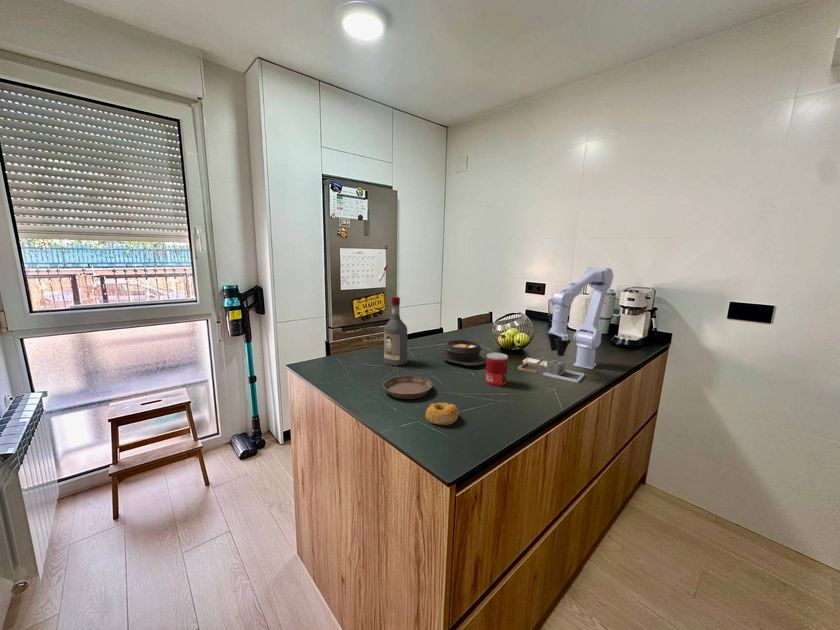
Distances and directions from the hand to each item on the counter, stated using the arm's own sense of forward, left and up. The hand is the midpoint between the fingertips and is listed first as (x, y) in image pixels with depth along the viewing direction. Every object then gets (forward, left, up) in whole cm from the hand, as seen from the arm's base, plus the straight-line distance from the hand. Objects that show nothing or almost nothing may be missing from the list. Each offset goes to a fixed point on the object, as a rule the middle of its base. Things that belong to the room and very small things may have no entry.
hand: (557, 353), depth 138 cm
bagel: (+63, -15, -9) cm, 66 cm away
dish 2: (-8, -6, -9) cm, 13 cm away
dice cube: (+1, 0, -9) cm, 9 cm away
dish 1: (-8, -13, -9) cm, 18 cm away
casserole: (+12, -39, -9) cm, 41 cm away
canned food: (+27, -15, -9) cm, 32 cm away
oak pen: (+1, -10, -9) cm, 13 cm away
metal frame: (+1, +4, -9) cm, 9 cm away
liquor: (+34, -61, -9) cm, 70 cm away
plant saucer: (+55, -36, -9) cm, 66 cm away
